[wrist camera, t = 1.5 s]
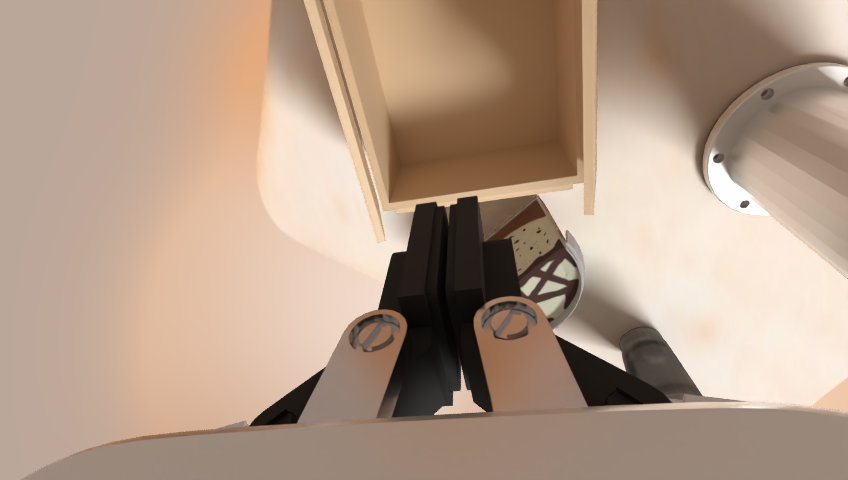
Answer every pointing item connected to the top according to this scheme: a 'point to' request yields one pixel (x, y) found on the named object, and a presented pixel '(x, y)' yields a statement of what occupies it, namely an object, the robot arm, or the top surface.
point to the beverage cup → (655, 363)
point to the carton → (464, 95)
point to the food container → (545, 261)
